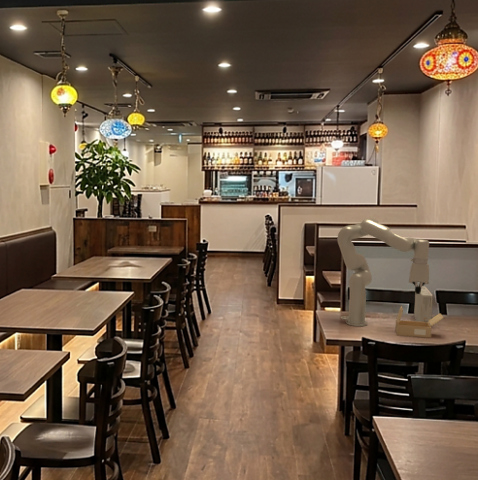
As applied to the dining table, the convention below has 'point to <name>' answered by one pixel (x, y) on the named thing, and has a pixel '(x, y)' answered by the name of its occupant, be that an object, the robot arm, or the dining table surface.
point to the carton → (413, 329)
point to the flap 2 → (435, 319)
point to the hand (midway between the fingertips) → (417, 293)
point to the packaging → (423, 305)
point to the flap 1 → (399, 314)
